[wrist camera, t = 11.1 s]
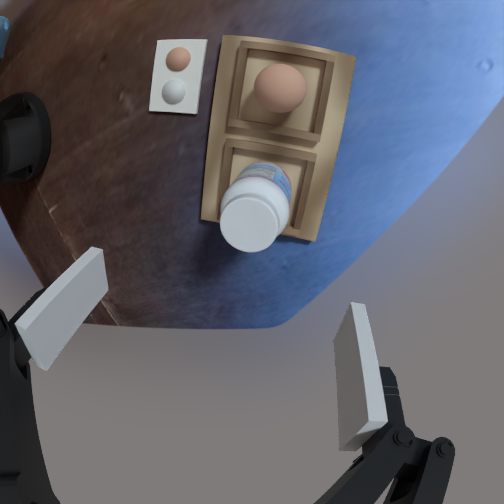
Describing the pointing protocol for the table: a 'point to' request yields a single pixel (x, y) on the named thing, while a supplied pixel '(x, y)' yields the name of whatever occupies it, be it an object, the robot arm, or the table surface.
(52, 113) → the table surface
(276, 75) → the egg
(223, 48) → the tray
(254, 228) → the pill bottle
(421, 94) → the table surface
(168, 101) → the card
